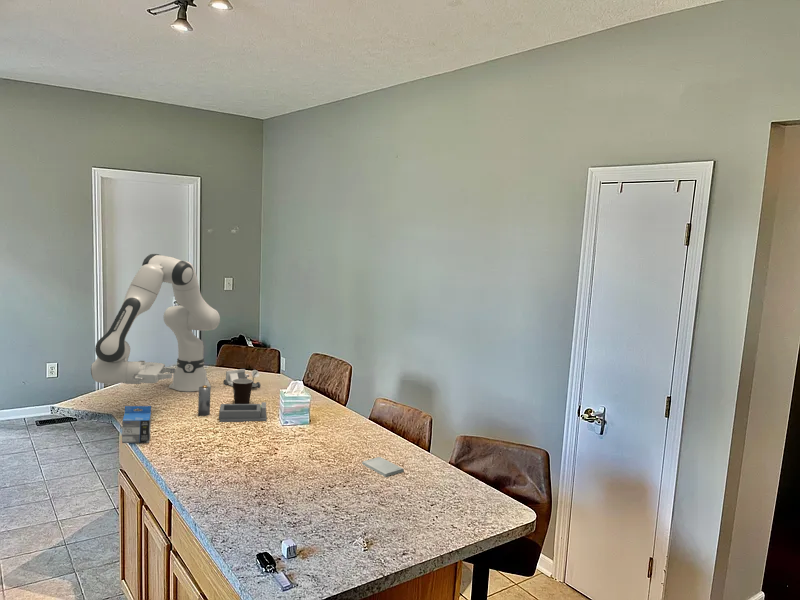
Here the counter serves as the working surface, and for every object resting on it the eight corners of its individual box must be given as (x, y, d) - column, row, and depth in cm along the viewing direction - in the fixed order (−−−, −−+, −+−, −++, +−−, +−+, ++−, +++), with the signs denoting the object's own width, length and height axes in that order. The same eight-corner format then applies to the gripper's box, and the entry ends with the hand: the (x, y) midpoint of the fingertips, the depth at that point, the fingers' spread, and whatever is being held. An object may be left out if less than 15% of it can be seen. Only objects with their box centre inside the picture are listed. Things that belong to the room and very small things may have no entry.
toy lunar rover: (264, 370, 278) (243, 373, 270) (263, 389, 279) (242, 393, 271) (244, 362, 290) (223, 365, 282) (243, 381, 291) (223, 384, 283)
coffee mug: (248, 406, 250) (249, 384, 249) (229, 405, 250) (229, 382, 249) (255, 399, 262) (256, 377, 261) (237, 397, 262) (238, 376, 261)
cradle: (220, 412, 240) (221, 400, 239) (266, 412, 244) (266, 400, 244) (218, 421, 228) (219, 409, 227) (266, 421, 232) (266, 409, 232)
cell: (198, 412, 238) (199, 384, 236) (210, 412, 239) (211, 384, 238) (197, 416, 233) (198, 387, 232) (209, 415, 234) (210, 387, 233)
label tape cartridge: (121, 443, 199) (121, 409, 198) (123, 439, 203) (124, 405, 202) (148, 443, 202) (149, 408, 200) (150, 439, 205) (151, 405, 204)
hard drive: (404, 468, 192) (380, 456, 202) (385, 474, 187) (362, 461, 196) (403, 473, 193) (380, 460, 202) (385, 478, 187) (361, 465, 196)
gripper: (131, 370, 217) (169, 371, 221) (141, 359, 237) (177, 360, 241) (130, 387, 218) (169, 387, 221) (141, 374, 238) (176, 375, 241)
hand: (173, 373), depth 231 cm, fingers open, 8 cm apart
